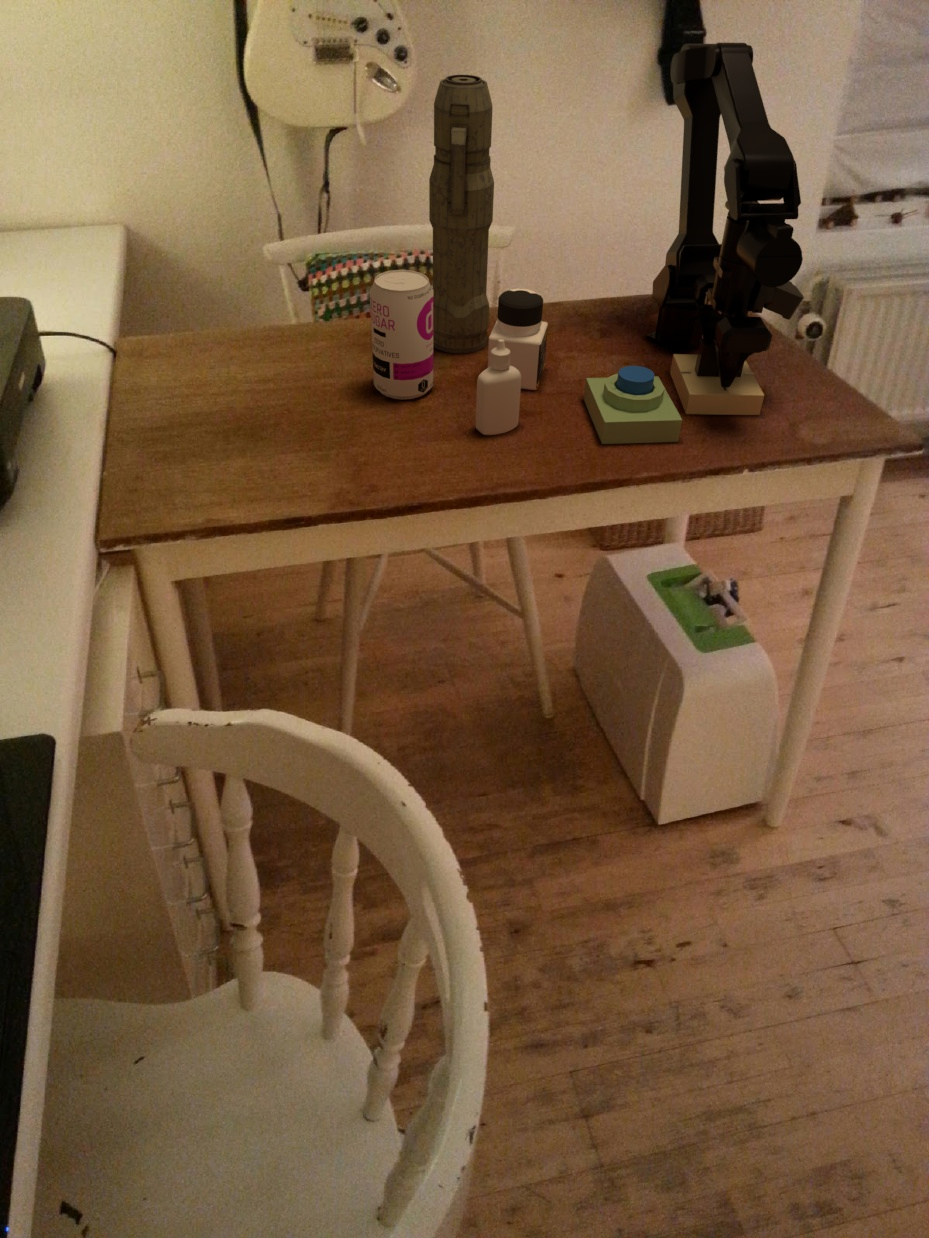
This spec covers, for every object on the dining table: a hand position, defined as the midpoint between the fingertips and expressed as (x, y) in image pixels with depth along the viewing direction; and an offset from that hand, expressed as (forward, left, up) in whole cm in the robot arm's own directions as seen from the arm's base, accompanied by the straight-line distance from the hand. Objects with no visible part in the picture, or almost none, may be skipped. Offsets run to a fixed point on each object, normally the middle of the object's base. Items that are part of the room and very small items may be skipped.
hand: (717, 371), depth 130 cm
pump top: (-1, -15, +1) cm, 15 cm away
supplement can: (-25, -35, -4) cm, 43 cm away
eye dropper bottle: (-9, -31, -4) cm, 32 cm away
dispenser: (-1, -15, -3) cm, 15 cm away
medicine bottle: (-19, -20, -4) cm, 28 cm away
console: (0, 0, -3) cm, 3 cm away
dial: (0, 0, 0) cm, 0 cm away
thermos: (-33, -20, -4) cm, 39 cm away
